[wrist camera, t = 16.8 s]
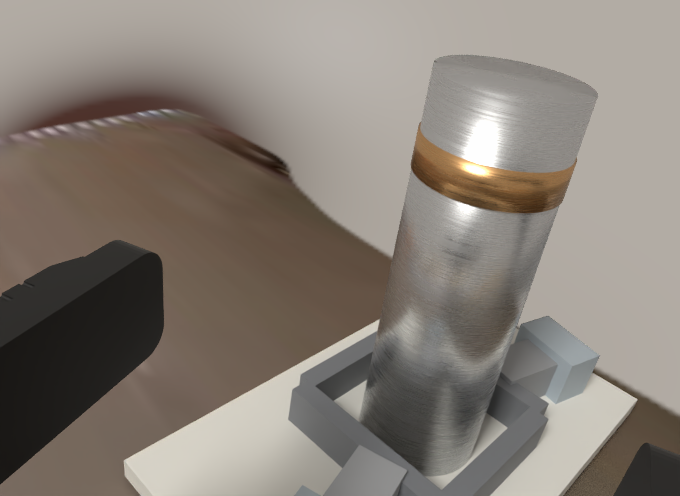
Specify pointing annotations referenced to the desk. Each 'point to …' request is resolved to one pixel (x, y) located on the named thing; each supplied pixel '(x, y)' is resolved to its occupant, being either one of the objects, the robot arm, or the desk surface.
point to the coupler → (468, 249)
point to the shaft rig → (373, 454)
